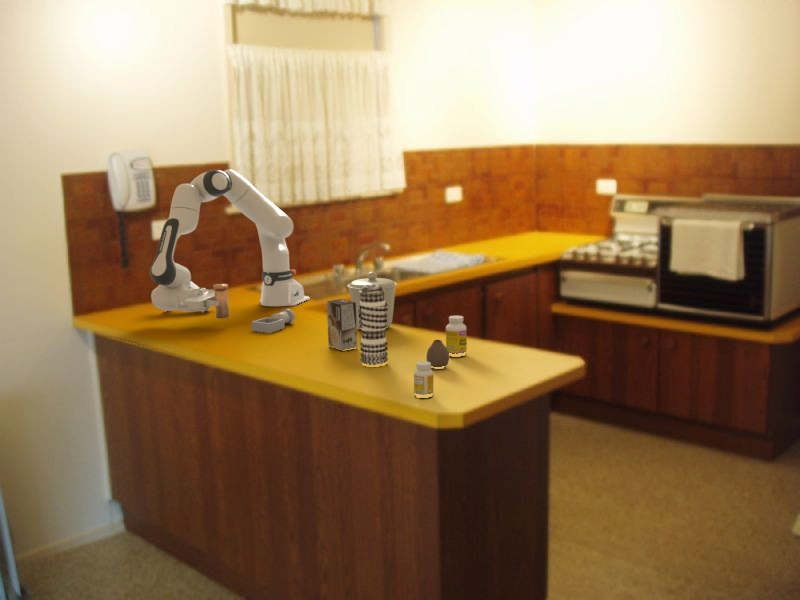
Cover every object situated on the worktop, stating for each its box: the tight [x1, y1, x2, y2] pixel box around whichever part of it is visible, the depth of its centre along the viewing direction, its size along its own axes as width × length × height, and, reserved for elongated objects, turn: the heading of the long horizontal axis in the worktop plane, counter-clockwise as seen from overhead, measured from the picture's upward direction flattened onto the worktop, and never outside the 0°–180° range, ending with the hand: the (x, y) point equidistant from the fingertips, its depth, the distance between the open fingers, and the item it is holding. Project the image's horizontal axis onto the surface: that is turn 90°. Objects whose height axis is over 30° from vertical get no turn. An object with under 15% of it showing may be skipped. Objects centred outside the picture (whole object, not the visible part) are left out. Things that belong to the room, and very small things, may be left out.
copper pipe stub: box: [212, 283, 230, 320], centre depth 349 cm, size 6×6×12 cm
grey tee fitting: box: [250, 308, 296, 334], centre depth 349 cm, size 17×9×6 cm, turn 149°
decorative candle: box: [358, 285, 389, 365], centre depth 292 cm, size 9×9×25 cm
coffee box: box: [326, 298, 358, 350], centre depth 315 cm, size 9×6×16 cm
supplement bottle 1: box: [413, 360, 434, 395], centre depth 258 cm, size 5×5×10 cm
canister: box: [347, 271, 398, 330], centre depth 343 cm, size 18×18×21 cm
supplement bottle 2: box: [445, 315, 468, 354], centre depth 302 cm, size 7×7×13 cm
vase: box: [426, 339, 450, 367], centre depth 288 cm, size 7×7×9 cm
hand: (223, 301), depth 349 cm, fingers closed on copper pipe stub, 5 cm apart
